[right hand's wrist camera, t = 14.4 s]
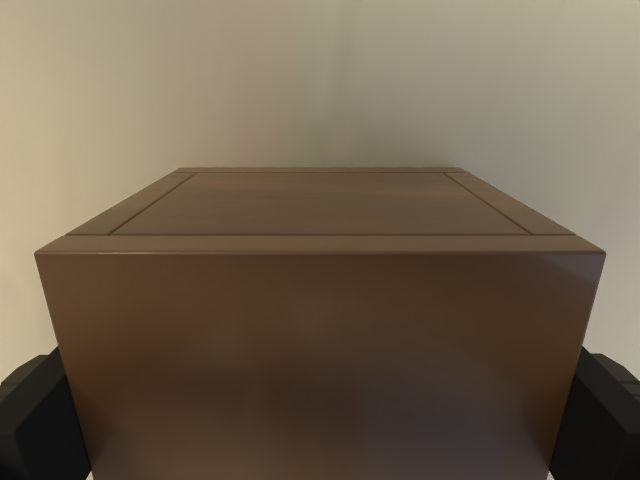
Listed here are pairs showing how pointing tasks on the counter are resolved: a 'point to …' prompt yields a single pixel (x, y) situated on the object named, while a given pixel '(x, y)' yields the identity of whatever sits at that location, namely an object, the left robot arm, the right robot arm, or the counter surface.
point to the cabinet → (320, 327)
